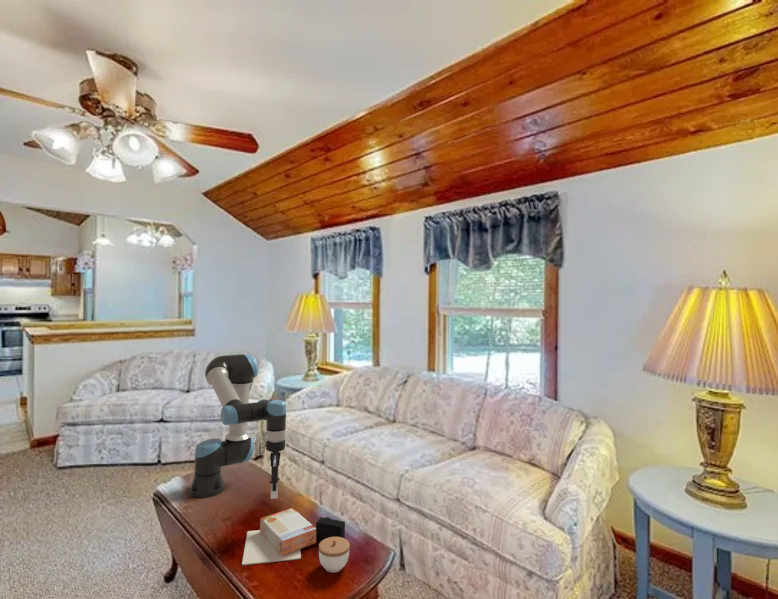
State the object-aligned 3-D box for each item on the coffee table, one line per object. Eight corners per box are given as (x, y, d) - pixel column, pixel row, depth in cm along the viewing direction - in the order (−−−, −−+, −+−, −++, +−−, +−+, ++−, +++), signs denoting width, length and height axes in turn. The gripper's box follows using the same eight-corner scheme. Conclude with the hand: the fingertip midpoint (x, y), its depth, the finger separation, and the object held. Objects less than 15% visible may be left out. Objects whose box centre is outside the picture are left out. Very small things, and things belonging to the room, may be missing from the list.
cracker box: (259, 532, 171) (281, 557, 154) (259, 517, 171) (282, 540, 154) (292, 521, 179) (316, 543, 163) (292, 507, 179) (317, 527, 163)
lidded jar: (319, 558, 155) (320, 532, 155) (349, 557, 156) (350, 531, 156) (316, 577, 144) (317, 549, 144) (349, 576, 145) (349, 548, 145)
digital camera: (346, 537, 169) (346, 519, 169) (340, 545, 164) (341, 526, 164) (321, 533, 172) (322, 515, 172) (315, 540, 166) (316, 522, 166)
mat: (247, 532, 171) (247, 531, 171) (299, 527, 176) (299, 526, 176) (241, 565, 150) (241, 564, 150) (300, 558, 154) (300, 557, 154)
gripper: (267, 434, 181) (265, 491, 181) (265, 445, 168) (263, 506, 168) (285, 434, 182) (283, 490, 182) (285, 444, 170) (283, 504, 170)
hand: (274, 497), depth 175 cm, fingers closed
